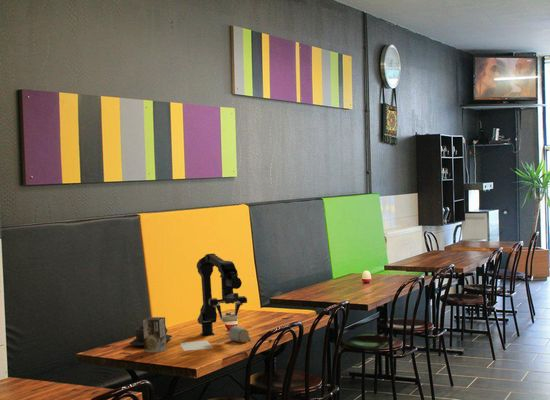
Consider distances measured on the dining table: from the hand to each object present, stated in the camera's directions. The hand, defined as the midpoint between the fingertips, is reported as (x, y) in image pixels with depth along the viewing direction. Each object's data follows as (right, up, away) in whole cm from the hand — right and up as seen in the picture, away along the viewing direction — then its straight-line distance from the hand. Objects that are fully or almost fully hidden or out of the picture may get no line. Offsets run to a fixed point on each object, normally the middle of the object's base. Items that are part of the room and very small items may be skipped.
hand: (228, 317), depth 370 cm
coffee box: (-35, -14, -12) cm, 39 cm away
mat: (-16, -13, -5) cm, 21 cm away
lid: (0, -1, 0) cm, 1 cm away
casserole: (-39, -14, +6) cm, 42 cm away
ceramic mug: (+6, -13, +3) cm, 14 cm away
